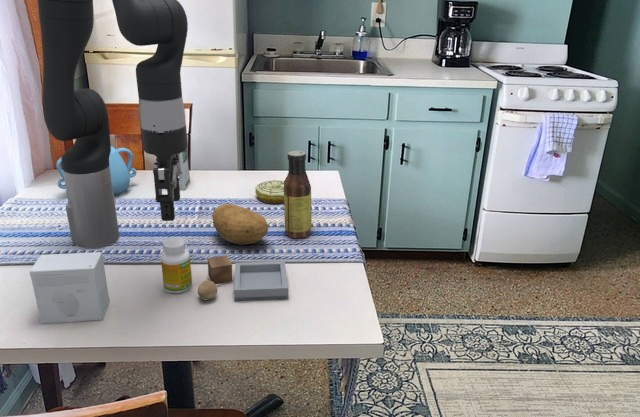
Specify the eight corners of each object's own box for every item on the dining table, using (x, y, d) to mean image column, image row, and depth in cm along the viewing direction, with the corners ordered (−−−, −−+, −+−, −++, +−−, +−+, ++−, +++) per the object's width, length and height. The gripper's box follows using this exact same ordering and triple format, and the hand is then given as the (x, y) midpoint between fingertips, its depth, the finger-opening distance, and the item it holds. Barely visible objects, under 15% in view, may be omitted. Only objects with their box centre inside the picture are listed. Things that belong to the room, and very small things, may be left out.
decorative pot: (105, 208, 138) (97, 157, 132) (53, 198, 142) (44, 148, 137) (143, 186, 152) (139, 139, 146) (95, 177, 156) (89, 131, 151)
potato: (250, 259, 116) (250, 225, 113) (203, 240, 123) (201, 208, 120) (279, 242, 124) (279, 210, 121) (232, 225, 131) (231, 194, 128)
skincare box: (110, 300, 101) (102, 250, 97) (103, 320, 95) (94, 268, 91) (50, 303, 100) (40, 252, 95) (39, 324, 94) (27, 271, 90)
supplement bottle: (185, 296, 103) (181, 250, 99) (158, 292, 104) (153, 247, 100) (196, 281, 108) (193, 237, 104) (171, 277, 109) (167, 234, 105)
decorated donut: (303, 200, 146) (303, 187, 145) (268, 208, 141) (267, 195, 139) (283, 187, 154) (283, 175, 153) (249, 194, 148) (249, 182, 147)
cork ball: (197, 304, 101) (196, 287, 99) (198, 293, 104) (197, 277, 103) (217, 303, 101) (216, 286, 100) (218, 292, 104) (217, 276, 103)
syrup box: (185, 190, 150) (181, 139, 144) (164, 189, 150) (159, 138, 144) (190, 182, 155) (186, 133, 149) (169, 182, 155) (165, 132, 149)
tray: (234, 301, 102) (234, 290, 101) (235, 273, 111) (235, 262, 110) (288, 299, 103) (288, 288, 102) (284, 271, 112) (284, 261, 111)
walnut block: (212, 285, 107) (211, 267, 105) (208, 275, 110) (207, 258, 109) (232, 281, 108) (231, 264, 107) (227, 272, 112) (227, 254, 110)
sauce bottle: (316, 234, 128) (319, 153, 120) (297, 242, 124) (299, 160, 116) (297, 225, 132) (298, 146, 124) (278, 233, 128) (277, 152, 120)
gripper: (147, 112, 99) (156, 195, 105) (132, 135, 86) (143, 228, 92) (189, 112, 99) (195, 194, 106) (181, 135, 87) (188, 226, 93)
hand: (171, 209), depth 99 cm, fingers open, 8 cm apart
